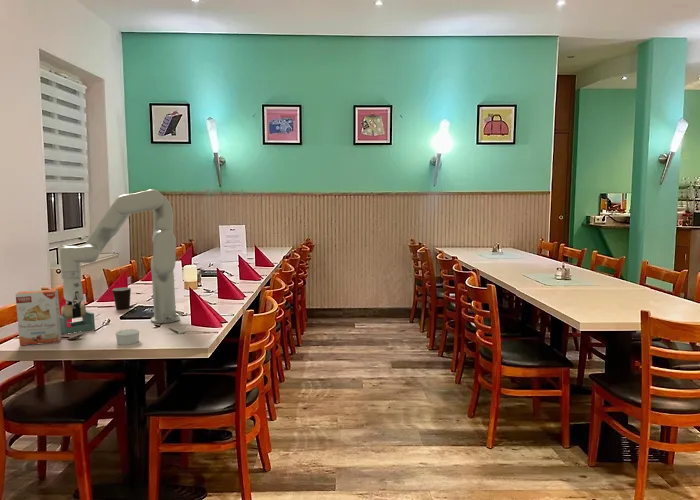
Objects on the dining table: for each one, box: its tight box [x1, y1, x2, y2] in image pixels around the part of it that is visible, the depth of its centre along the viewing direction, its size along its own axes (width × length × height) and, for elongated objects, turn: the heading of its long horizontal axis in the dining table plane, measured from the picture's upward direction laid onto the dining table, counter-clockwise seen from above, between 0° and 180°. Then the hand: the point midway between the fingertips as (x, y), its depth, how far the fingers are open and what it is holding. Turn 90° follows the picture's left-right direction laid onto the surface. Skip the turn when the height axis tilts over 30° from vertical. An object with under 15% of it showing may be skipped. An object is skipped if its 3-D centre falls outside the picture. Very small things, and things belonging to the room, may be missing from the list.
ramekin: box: [114, 328, 140, 346], centre depth 218 cm, size 9×9×4 cm
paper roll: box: [60, 302, 87, 320], centre depth 238 cm, size 8×6×6 cm
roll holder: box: [60, 310, 96, 335], centre depth 238 cm, size 10×12×7 cm
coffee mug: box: [112, 287, 132, 311], centre depth 281 cm, size 12×9×10 cm
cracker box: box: [15, 289, 62, 346], centre depth 219 cm, size 14×6×21 cm, turn 106°
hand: (73, 315), depth 238 cm, fingers closed on paper roll, 6 cm apart
